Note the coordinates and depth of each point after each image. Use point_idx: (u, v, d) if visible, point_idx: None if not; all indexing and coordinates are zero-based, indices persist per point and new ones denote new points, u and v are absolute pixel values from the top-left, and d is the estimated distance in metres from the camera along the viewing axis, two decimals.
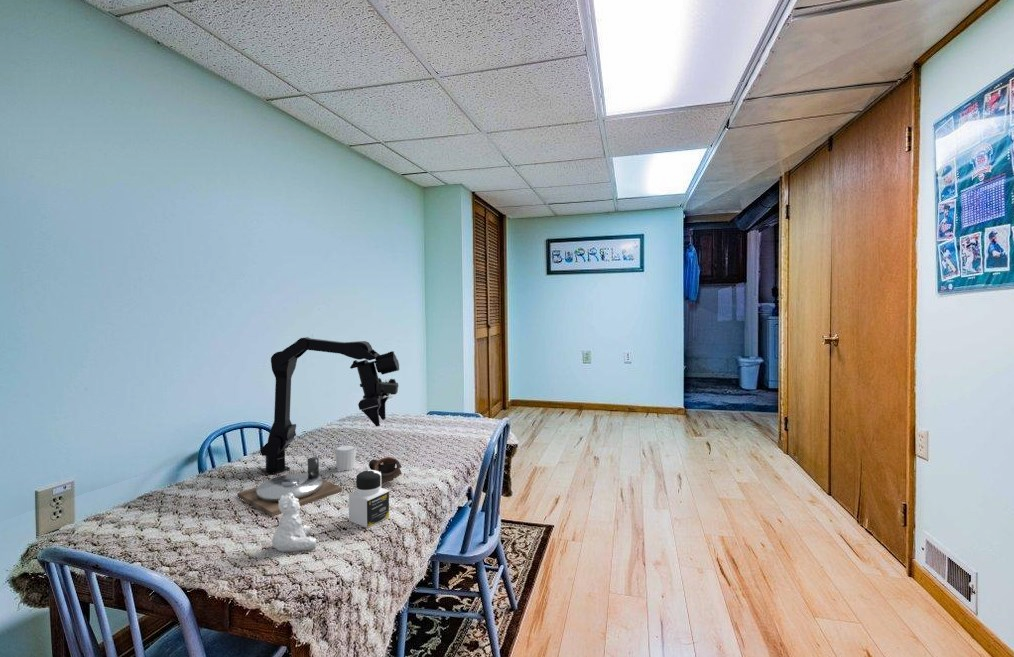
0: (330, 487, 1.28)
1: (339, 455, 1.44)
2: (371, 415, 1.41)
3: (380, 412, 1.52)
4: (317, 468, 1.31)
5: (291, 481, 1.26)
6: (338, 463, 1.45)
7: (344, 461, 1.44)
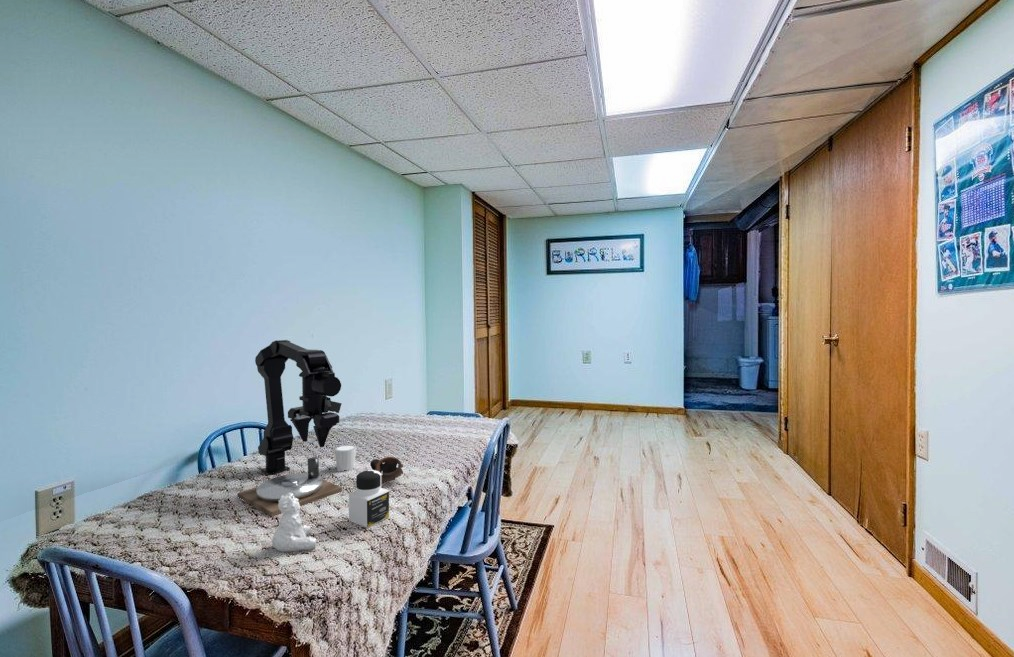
0: (330, 487, 1.28)
1: (339, 455, 1.44)
2: (321, 434, 1.27)
3: (303, 433, 1.34)
4: (317, 468, 1.31)
5: (291, 481, 1.26)
6: (338, 463, 1.45)
7: (344, 461, 1.44)
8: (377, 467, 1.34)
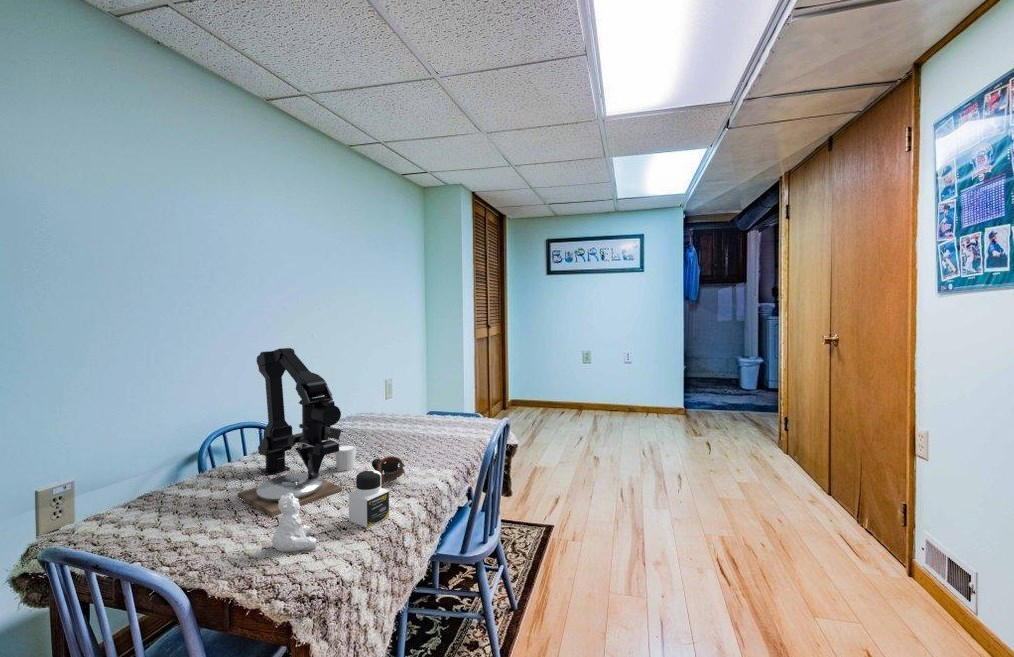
0: (330, 487, 1.28)
1: (339, 455, 1.44)
2: (316, 460, 1.29)
3: None
4: None
5: (291, 481, 1.26)
6: (338, 463, 1.45)
7: (344, 461, 1.44)
8: (379, 467, 1.34)
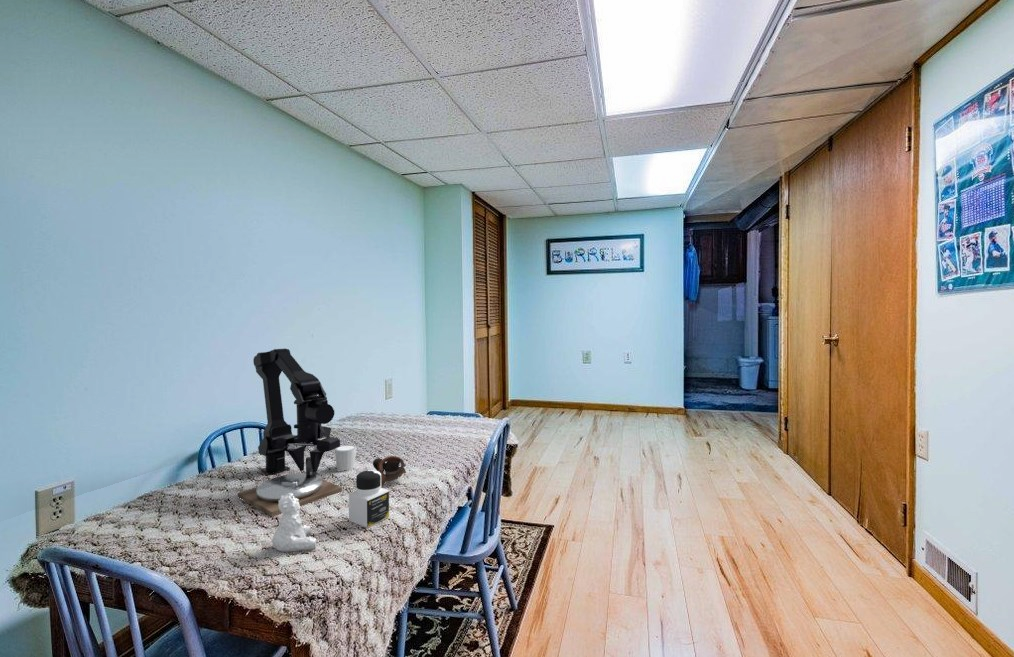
0: (330, 487, 1.28)
1: (339, 455, 1.44)
2: (316, 459, 1.30)
3: (300, 462, 1.32)
4: None
5: (291, 481, 1.26)
6: (338, 463, 1.45)
7: (344, 461, 1.44)
8: (380, 466, 1.34)
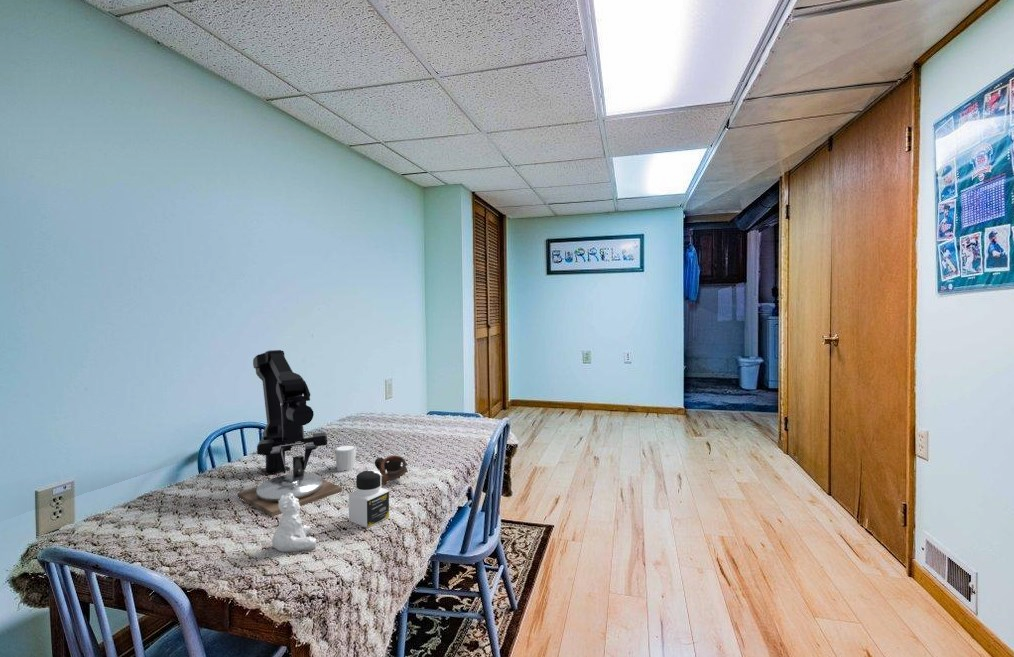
0: (330, 487, 1.28)
1: (339, 455, 1.44)
2: None
3: (284, 464, 1.31)
4: (303, 465, 1.34)
5: (292, 481, 1.26)
6: (338, 463, 1.45)
7: (344, 461, 1.44)
8: (382, 466, 1.35)
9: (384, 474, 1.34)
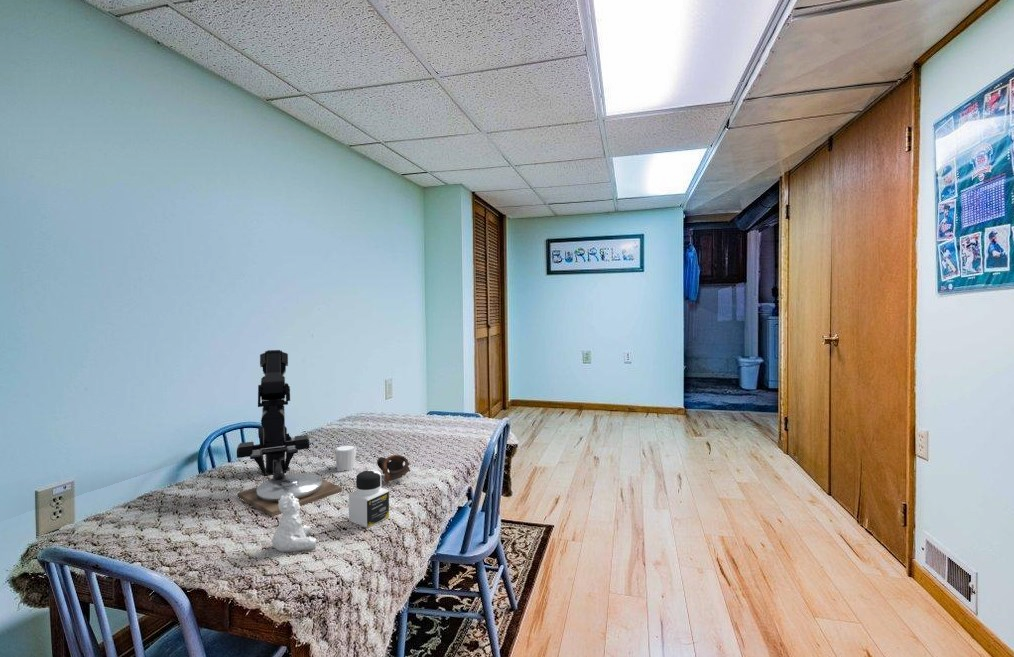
0: (330, 487, 1.28)
1: (339, 455, 1.44)
2: None
3: (264, 467, 1.28)
4: None
5: (291, 480, 1.27)
6: (338, 463, 1.45)
7: (344, 461, 1.44)
8: (384, 465, 1.36)
9: (386, 473, 1.35)
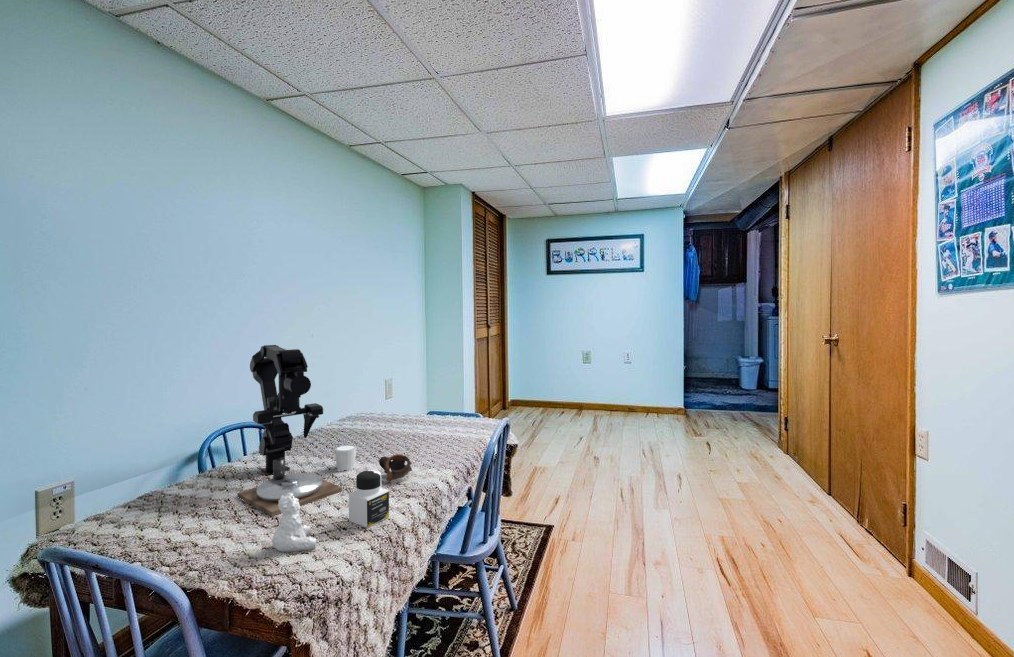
0: (330, 487, 1.28)
1: (339, 455, 1.44)
2: None
3: None
4: None
5: (291, 480, 1.27)
6: (338, 463, 1.45)
7: (344, 461, 1.44)
8: (386, 464, 1.36)
9: (389, 473, 1.35)
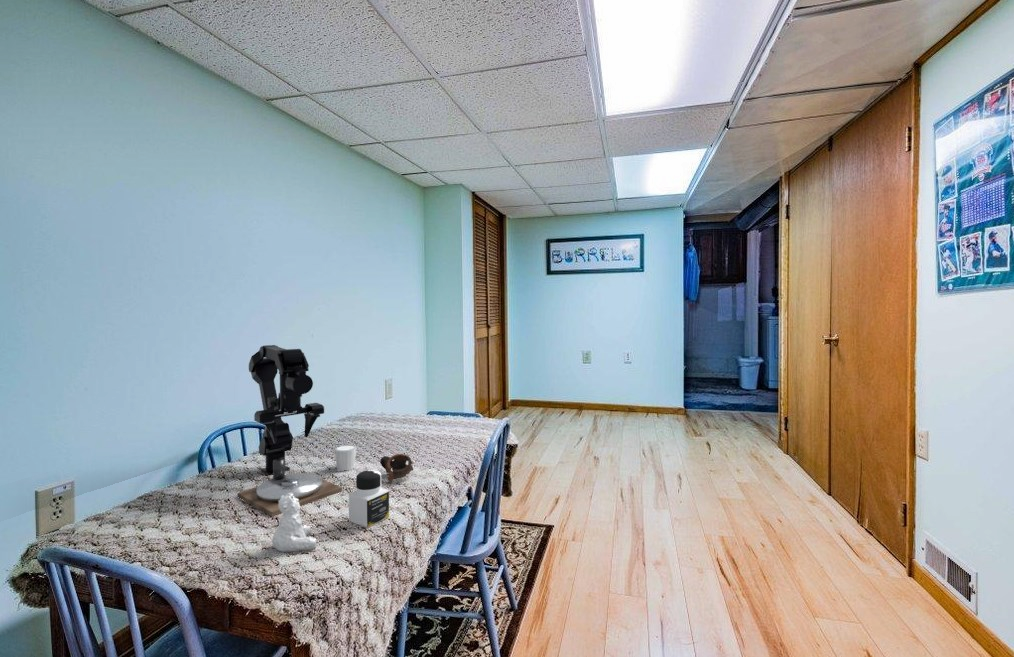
0: (330, 487, 1.28)
1: (339, 455, 1.44)
2: None
3: None
4: None
5: (291, 480, 1.27)
6: (338, 463, 1.45)
7: (344, 461, 1.44)
8: (388, 464, 1.36)
9: (390, 472, 1.35)
